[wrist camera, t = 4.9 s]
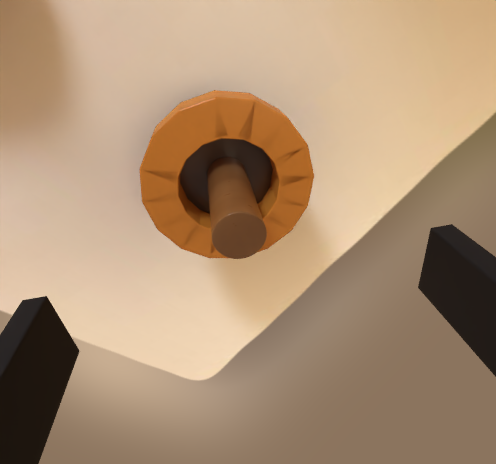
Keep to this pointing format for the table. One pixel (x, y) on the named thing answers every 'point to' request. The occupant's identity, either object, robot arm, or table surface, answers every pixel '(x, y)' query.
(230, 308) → the table surface
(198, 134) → the ring
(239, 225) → the ring post
